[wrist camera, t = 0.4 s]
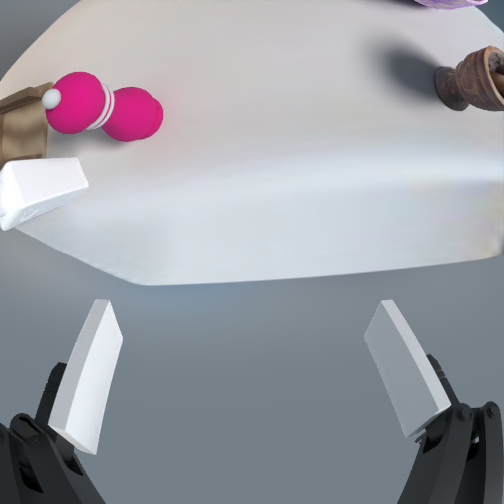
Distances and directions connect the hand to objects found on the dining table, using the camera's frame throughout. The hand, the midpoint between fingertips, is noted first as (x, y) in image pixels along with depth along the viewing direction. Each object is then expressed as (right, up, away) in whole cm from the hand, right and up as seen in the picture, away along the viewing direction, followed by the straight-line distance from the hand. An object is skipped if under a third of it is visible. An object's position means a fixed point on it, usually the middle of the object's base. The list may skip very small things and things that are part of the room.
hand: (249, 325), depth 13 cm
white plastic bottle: (-29, +15, +24) cm, 40 cm away
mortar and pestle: (+33, +29, +15) cm, 46 cm away
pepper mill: (-15, +22, +20) cm, 34 cm away
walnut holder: (-43, +26, +21) cm, 54 cm away
